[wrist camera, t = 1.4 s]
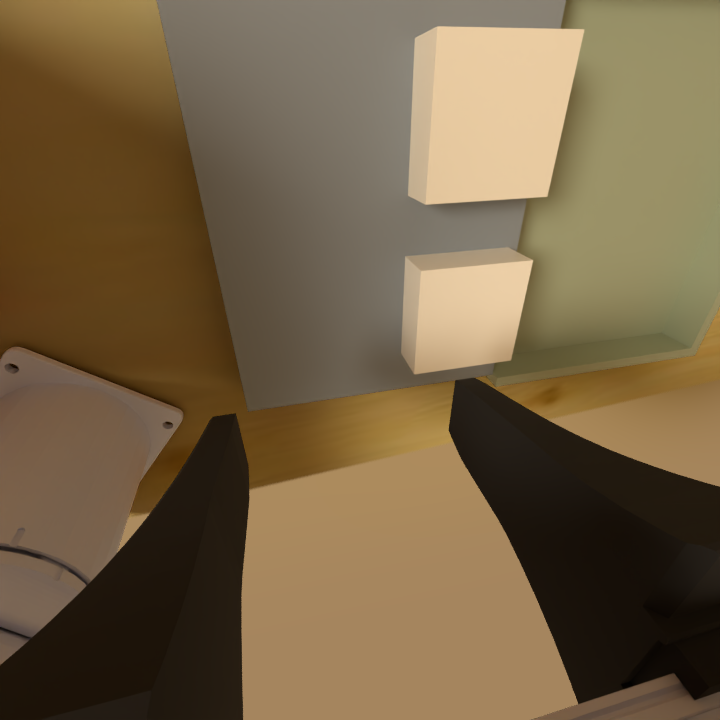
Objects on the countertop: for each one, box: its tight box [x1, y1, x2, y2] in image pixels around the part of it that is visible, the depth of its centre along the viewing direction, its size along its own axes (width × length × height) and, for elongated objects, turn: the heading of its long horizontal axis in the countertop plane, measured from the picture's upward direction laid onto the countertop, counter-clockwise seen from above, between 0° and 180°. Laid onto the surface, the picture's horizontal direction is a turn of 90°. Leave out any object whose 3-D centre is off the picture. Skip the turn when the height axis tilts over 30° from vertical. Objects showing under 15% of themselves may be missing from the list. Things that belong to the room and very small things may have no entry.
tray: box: [486, 0, 720, 387], centre depth 19 cm, size 14×18×2 cm
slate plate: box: [157, 0, 566, 412], centre depth 17 cm, size 14×17×2 cm
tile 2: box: [401, 247, 533, 374], centre depth 18 cm, size 5×5×2 cm
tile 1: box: [408, 26, 585, 205], centre depth 14 cm, size 5×5×2 cm
